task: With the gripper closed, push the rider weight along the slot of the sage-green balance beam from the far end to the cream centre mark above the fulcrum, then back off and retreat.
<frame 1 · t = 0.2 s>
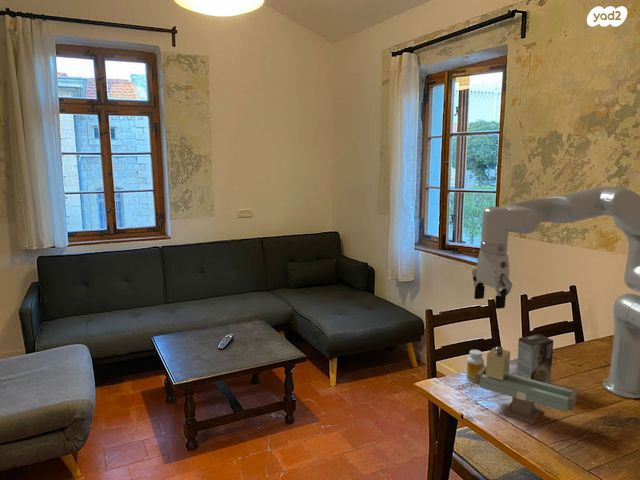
hand: (489, 303, 147), 31 cm above the table, tool pointing down, fingers open, 9 cm apart
supplement bottle: (474, 379, 164), on the table
rider: (498, 363, 145), point 13 cm above the table, slide at 0.0 cm
coffee box: (532, 385, 159), on the table
beam: (522, 412, 143), on the table
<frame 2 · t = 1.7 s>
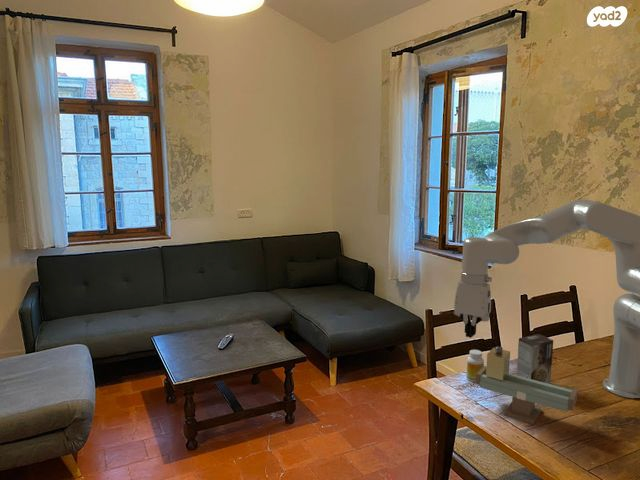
hand: (469, 335, 148), 20 cm above the table, tool pointing down, fingers closed
nothing on the table moved.
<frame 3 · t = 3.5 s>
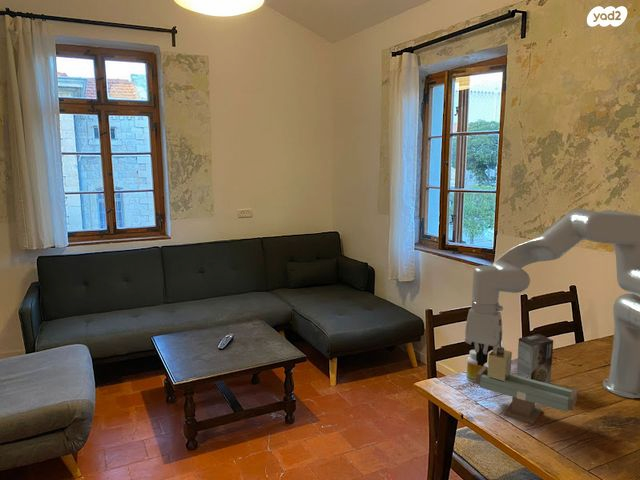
hand: (481, 363, 148), 12 cm above the table, tool pointing down, fingers closed
rider: (499, 364, 144), point 13 cm above the table, slide at -0.5 cm, touching gripper
everything else where it was.
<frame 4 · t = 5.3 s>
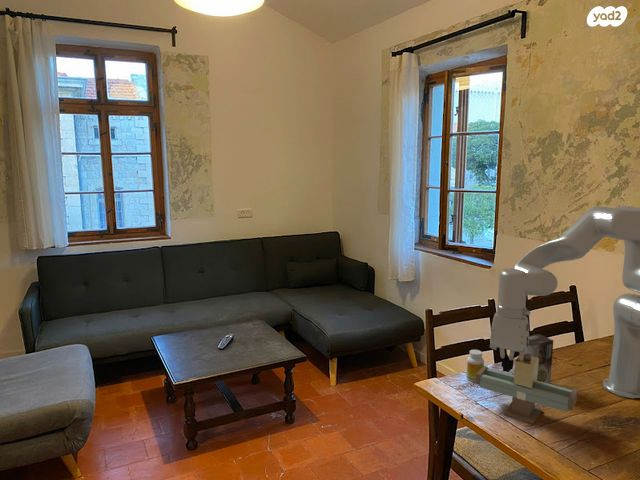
hand: (506, 370, 143), 12 cm above the table, tool pointing down, fingers closed
rider: (526, 370, 140), point 13 cm above the table, slide at -8.0 cm, touching gripper
everything else where it was.
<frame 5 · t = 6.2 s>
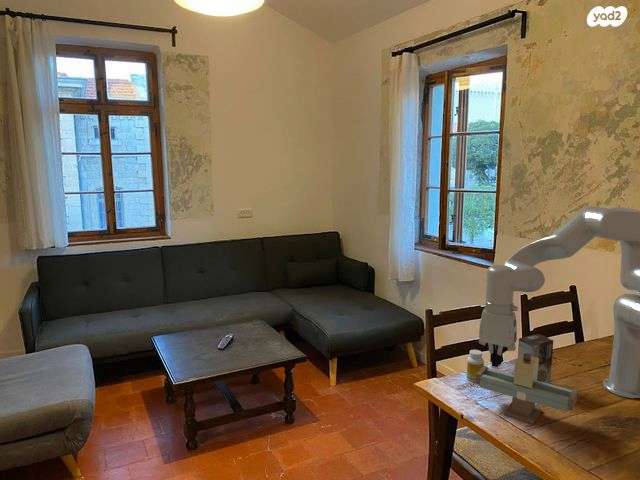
hand: (495, 365, 145), 13 cm above the table, tool pointing down, fingers closed
rider: (526, 370, 140), point 13 cm above the table, slide at -8.1 cm
everything else where it was.
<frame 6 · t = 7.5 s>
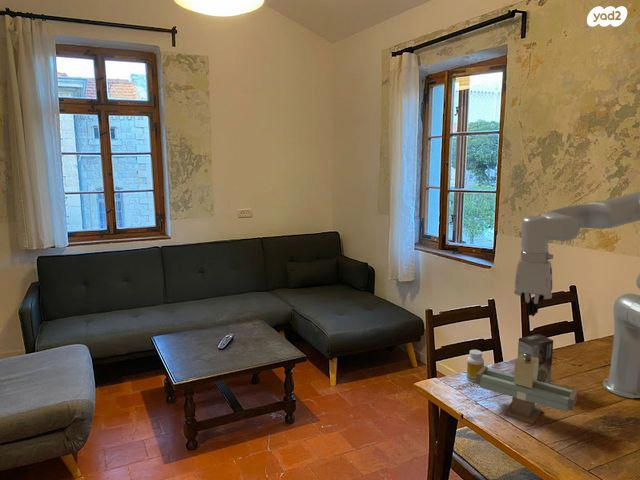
hand: (532, 314, 149), 26 cm above the table, tool pointing down, fingers closed
nothing on the table moved.
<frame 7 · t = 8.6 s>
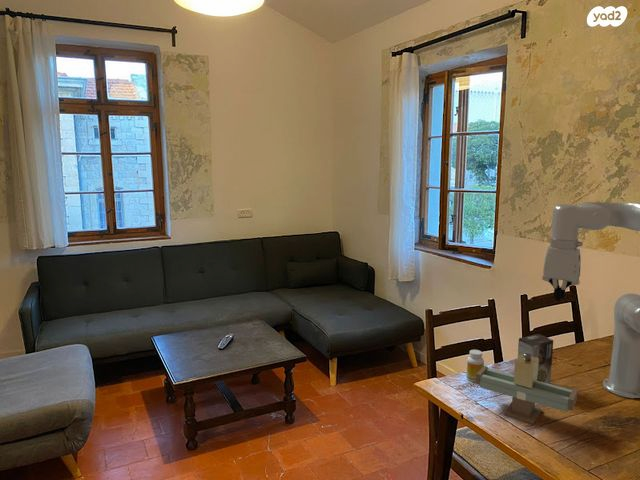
hand: (558, 300, 154), 29 cm above the table, tool pointing down, fingers closed
nothing on the table moved.
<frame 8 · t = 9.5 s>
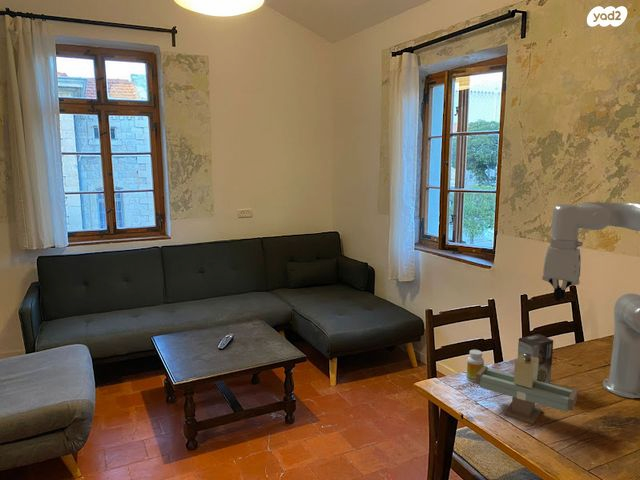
hand: (558, 300, 154), 29 cm above the table, tool pointing down, fingers closed
nothing on the table moved.
at the end: rider slide at -8.1 cm; rider moved 8.1 cm from its start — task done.
